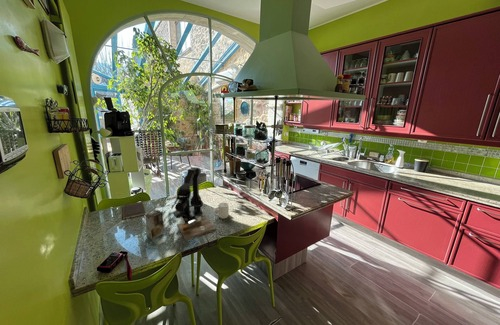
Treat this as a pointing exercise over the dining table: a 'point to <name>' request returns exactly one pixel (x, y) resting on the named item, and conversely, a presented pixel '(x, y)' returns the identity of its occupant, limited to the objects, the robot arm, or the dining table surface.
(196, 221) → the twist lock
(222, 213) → the mug
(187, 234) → the lock base
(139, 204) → the hardcover book
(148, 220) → the coffee box
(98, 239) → the dining table surface
